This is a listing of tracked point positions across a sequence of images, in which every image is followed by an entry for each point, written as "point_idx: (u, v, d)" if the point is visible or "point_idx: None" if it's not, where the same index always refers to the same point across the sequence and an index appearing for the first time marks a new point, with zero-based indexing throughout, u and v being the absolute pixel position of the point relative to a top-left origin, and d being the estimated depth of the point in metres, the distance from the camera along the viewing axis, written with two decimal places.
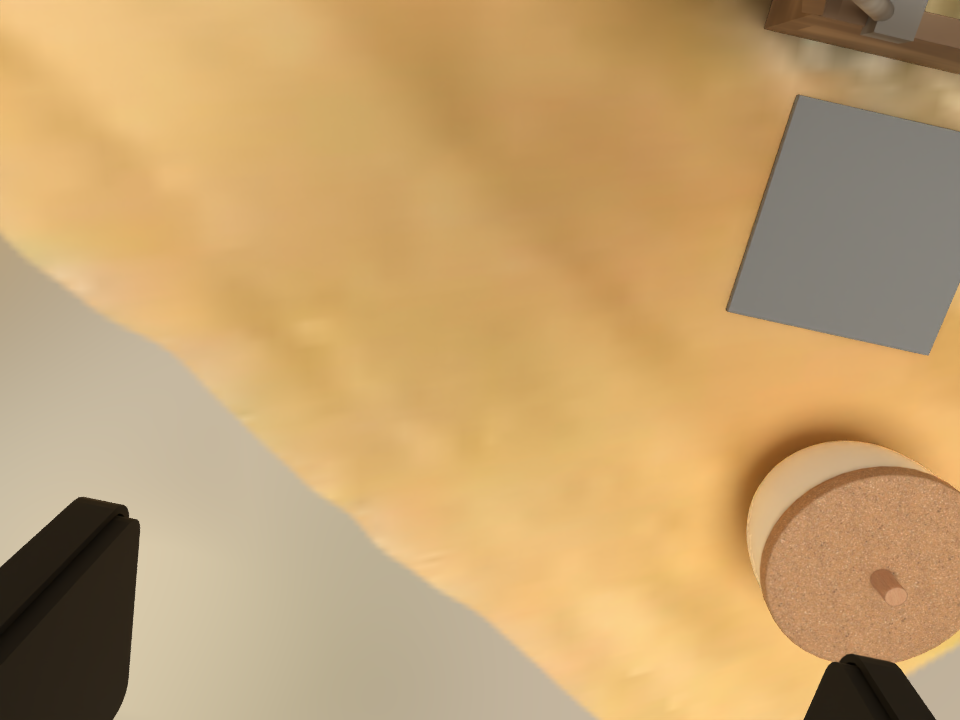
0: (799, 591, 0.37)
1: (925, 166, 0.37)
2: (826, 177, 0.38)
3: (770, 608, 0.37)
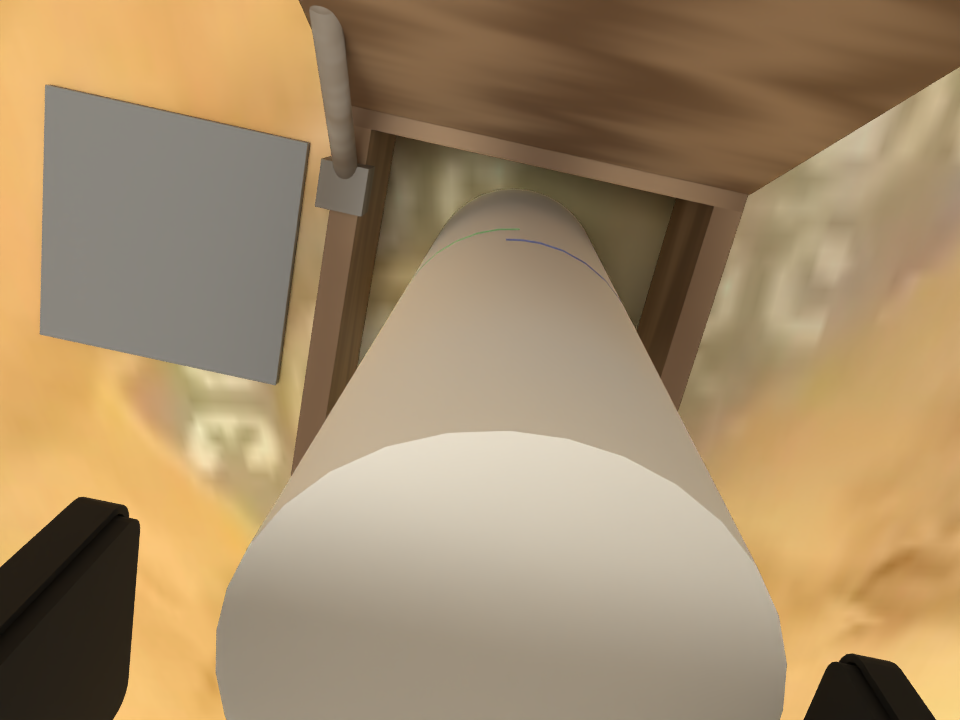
0: None
1: (244, 295, 0.34)
2: (221, 187, 0.32)
3: None
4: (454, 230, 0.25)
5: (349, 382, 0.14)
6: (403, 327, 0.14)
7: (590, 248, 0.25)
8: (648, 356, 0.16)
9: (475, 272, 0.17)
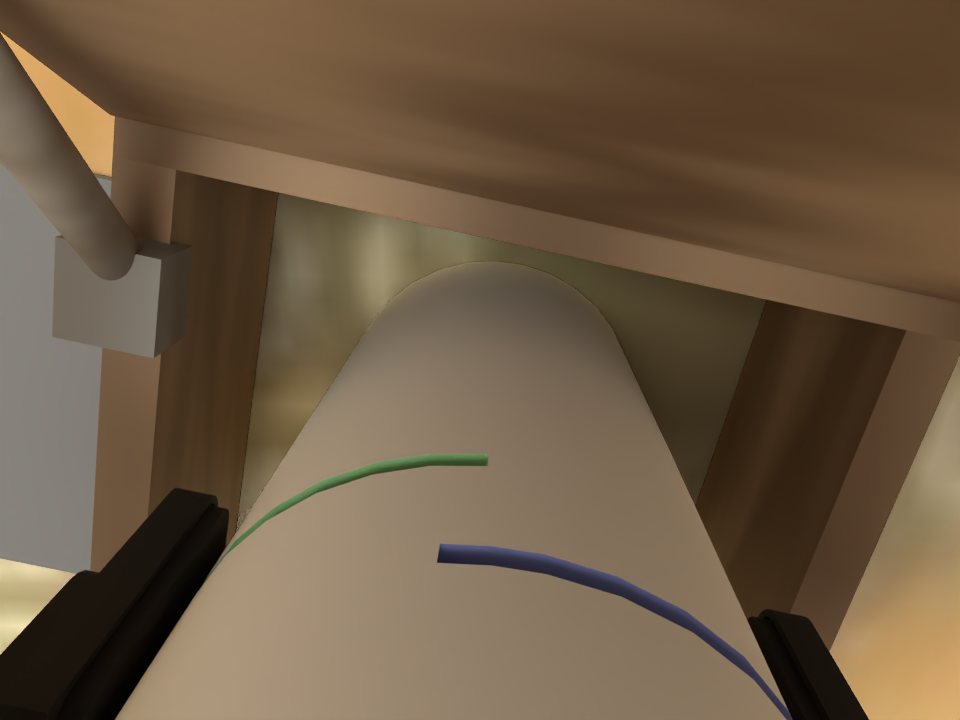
0: None
1: (34, 438, 0.20)
2: None
3: None
4: (348, 399, 0.11)
5: None
6: None
7: (650, 432, 0.12)
8: None
9: None
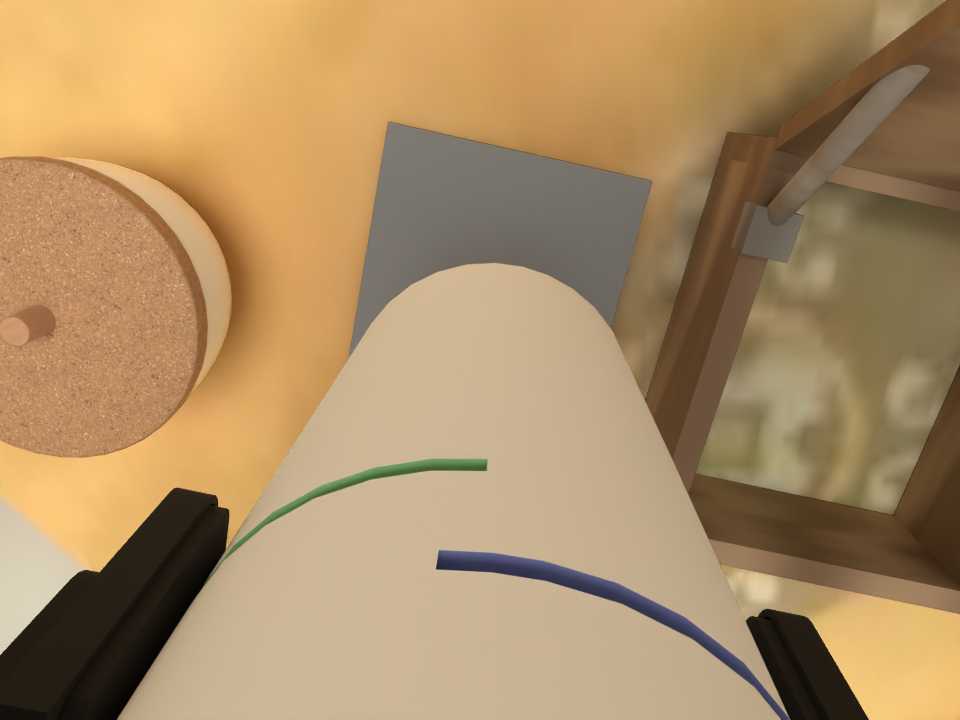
0: None
1: None
2: (556, 225, 0.32)
3: None
4: (347, 402, 0.11)
5: None
6: None
7: (650, 435, 0.12)
8: None
9: None
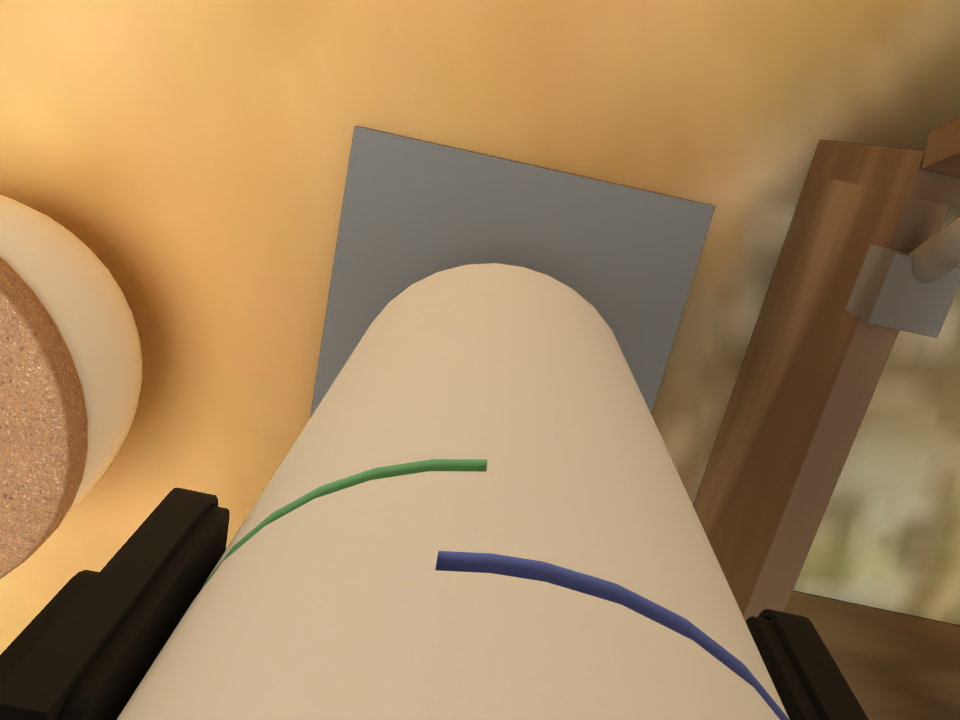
0: None
1: None
2: (583, 265, 0.23)
3: None
4: (347, 402, 0.11)
5: None
6: None
7: (649, 435, 0.12)
8: None
9: None
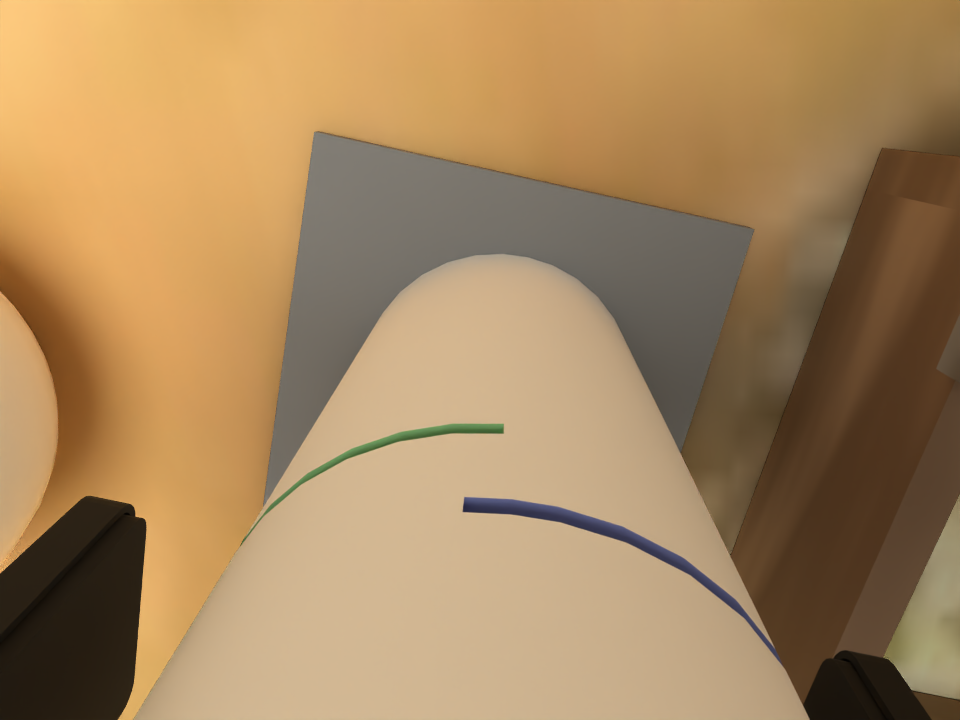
0: None
1: None
2: None
3: None
4: (369, 379, 0.12)
5: None
6: None
7: (651, 411, 0.12)
8: None
9: None
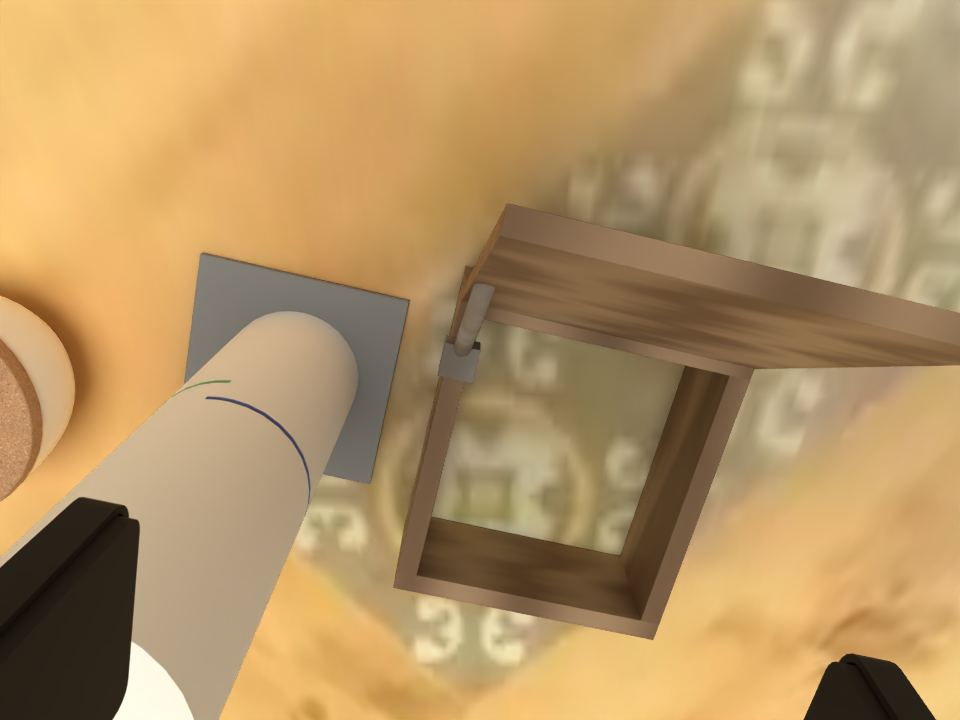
0: None
1: (349, 415, 0.42)
2: None
3: None
4: (204, 368, 0.33)
5: None
6: (71, 493, 0.22)
7: (310, 380, 0.34)
8: (260, 500, 0.24)
9: (148, 441, 0.25)
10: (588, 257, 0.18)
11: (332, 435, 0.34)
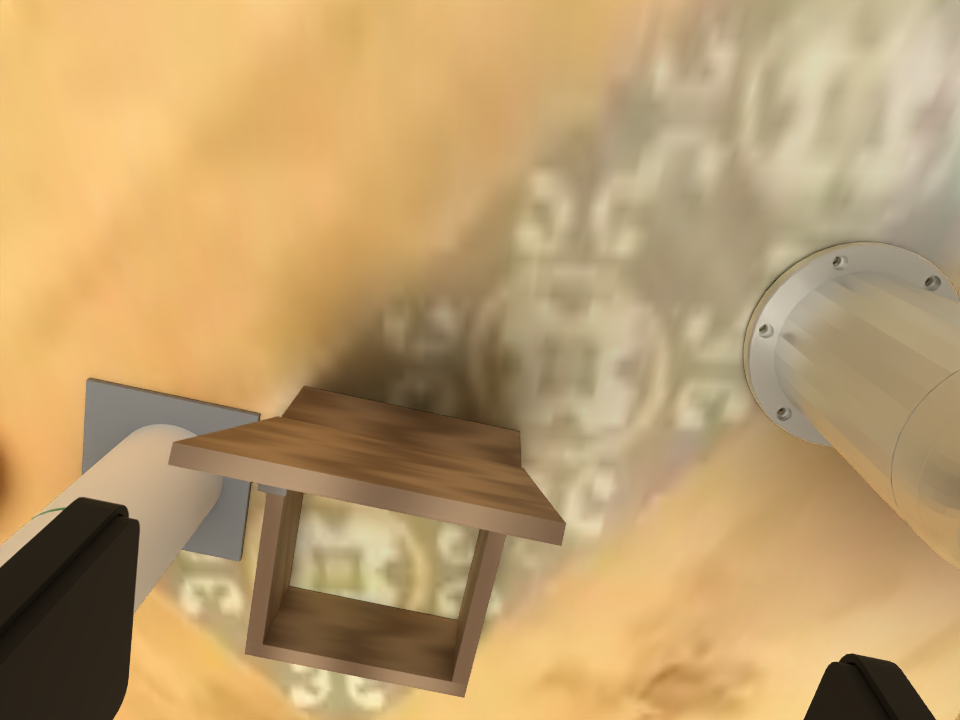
0: None
1: (218, 506, 0.50)
2: None
3: None
4: (67, 488, 0.42)
5: None
6: None
7: (153, 496, 0.42)
8: None
9: None
10: (232, 477, 0.26)
11: (172, 539, 0.42)
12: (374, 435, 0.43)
